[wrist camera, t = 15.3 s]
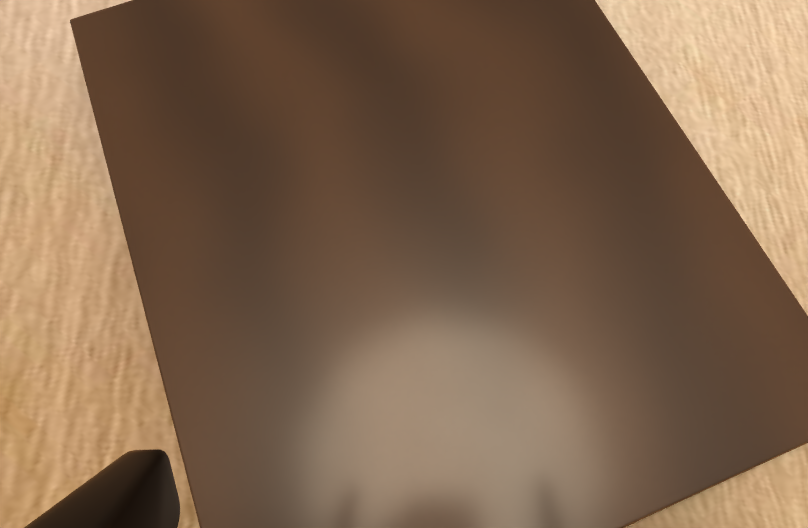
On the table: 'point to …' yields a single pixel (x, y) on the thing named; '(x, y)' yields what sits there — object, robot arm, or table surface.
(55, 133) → the table surface
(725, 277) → the desk board
